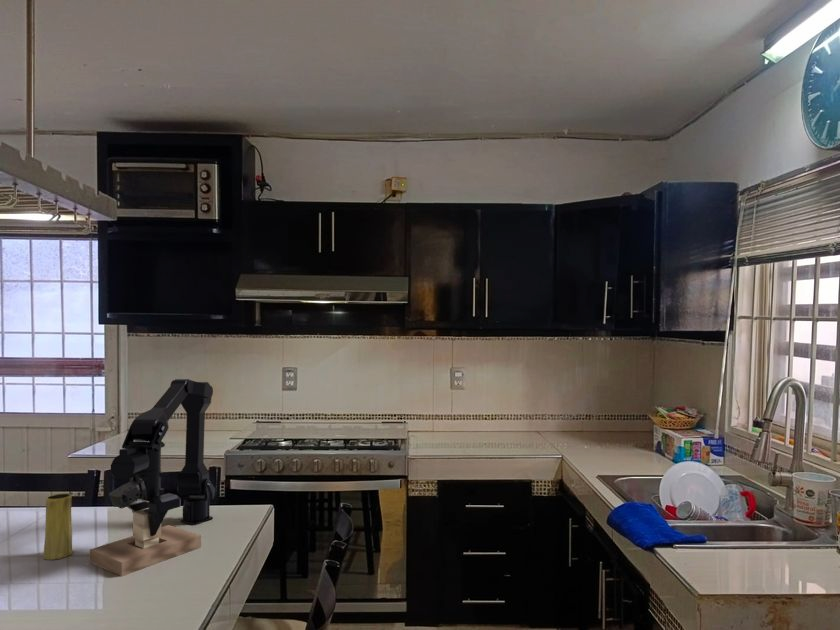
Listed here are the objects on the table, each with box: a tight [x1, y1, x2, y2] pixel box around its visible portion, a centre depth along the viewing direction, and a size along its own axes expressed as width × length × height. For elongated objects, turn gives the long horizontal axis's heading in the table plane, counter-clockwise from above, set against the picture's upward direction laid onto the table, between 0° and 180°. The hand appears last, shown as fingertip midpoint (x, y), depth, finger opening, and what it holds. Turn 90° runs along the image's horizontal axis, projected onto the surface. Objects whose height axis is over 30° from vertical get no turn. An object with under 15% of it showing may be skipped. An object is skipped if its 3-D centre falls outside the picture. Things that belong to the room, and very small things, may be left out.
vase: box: [42, 492, 74, 561], centre depth 137 cm, size 6×6×14 cm
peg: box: [132, 508, 162, 548], centre depth 137 cm, size 4×4×8 cm
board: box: [89, 524, 202, 577], centre depth 137 cm, size 20×14×3 cm
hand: (147, 533), depth 137 cm, fingers closed on peg, 4 cm apart
